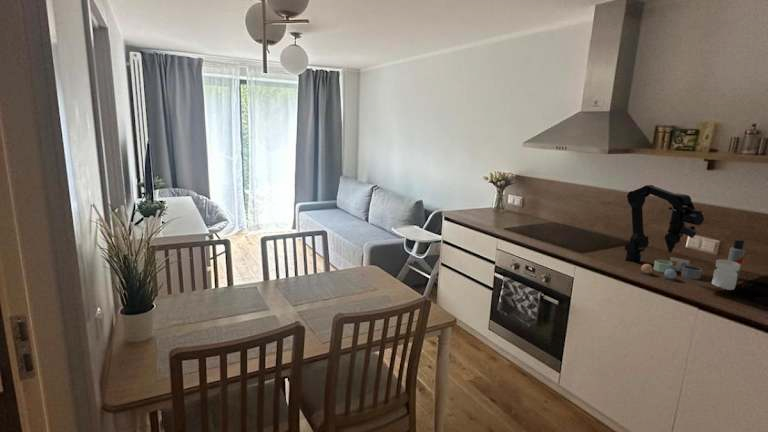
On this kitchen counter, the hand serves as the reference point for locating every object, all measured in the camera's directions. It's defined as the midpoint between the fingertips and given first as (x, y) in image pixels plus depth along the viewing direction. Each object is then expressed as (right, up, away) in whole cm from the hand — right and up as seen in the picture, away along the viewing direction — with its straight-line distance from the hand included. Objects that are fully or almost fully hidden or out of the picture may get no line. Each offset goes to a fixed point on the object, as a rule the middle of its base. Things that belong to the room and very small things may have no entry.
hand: (671, 250), depth 206 cm
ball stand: (-8, -13, -1) cm, 15 cm away
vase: (+17, -17, -11) cm, 26 cm away
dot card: (+8, -12, +7) cm, 16 cm away
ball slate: (-4, -14, -4) cm, 15 cm away
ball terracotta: (-11, -12, +3) cm, 17 cm away
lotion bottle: (+31, -14, +1) cm, 34 cm away
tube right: (+9, -14, 0) cm, 17 cm away
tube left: (+1, -12, +8) cm, 14 cm away
